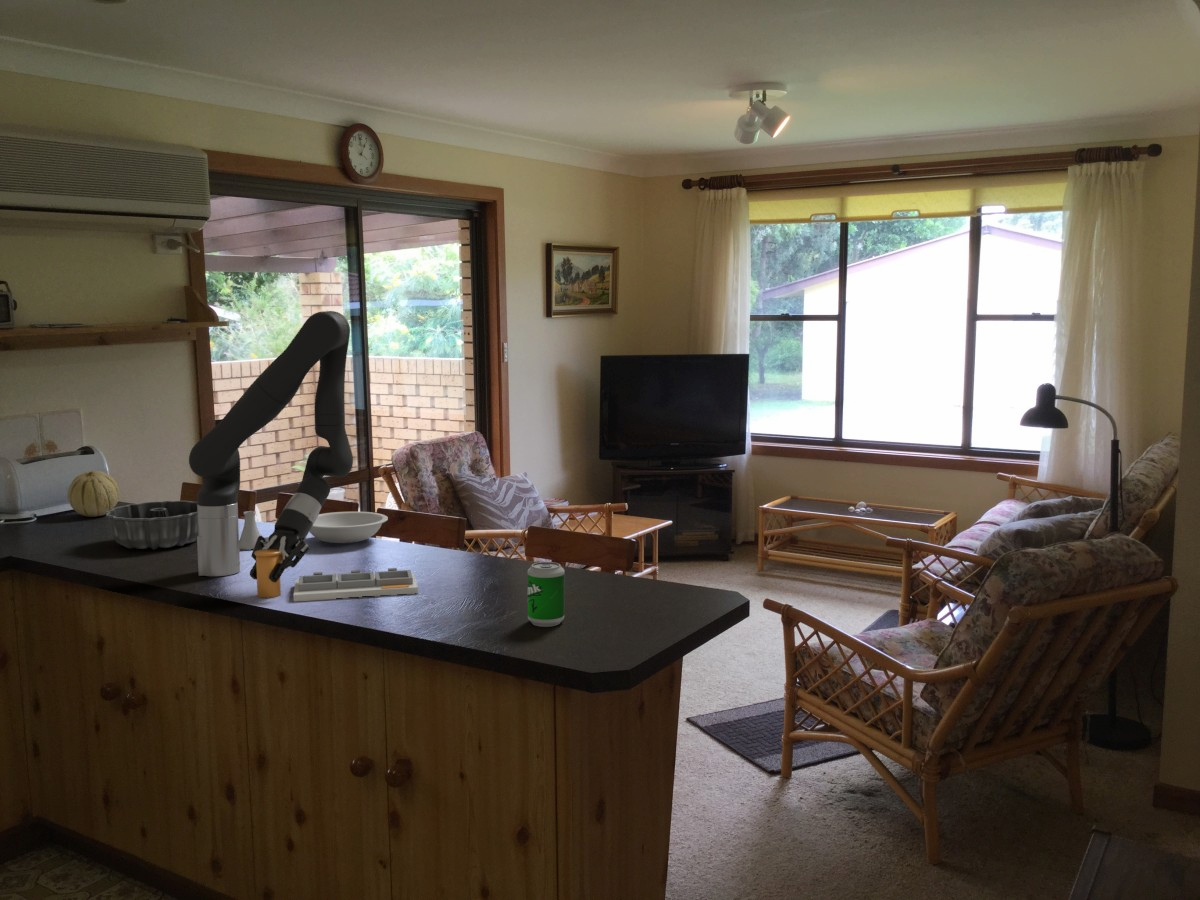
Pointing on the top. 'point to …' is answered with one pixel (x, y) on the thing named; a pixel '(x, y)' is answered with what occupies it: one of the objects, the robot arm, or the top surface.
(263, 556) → the cap
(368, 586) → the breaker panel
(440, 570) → the top surface
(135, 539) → the bundt pan
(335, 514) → the soup bowl
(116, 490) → the cantaloupe
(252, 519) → the flask
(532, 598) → the soda can
